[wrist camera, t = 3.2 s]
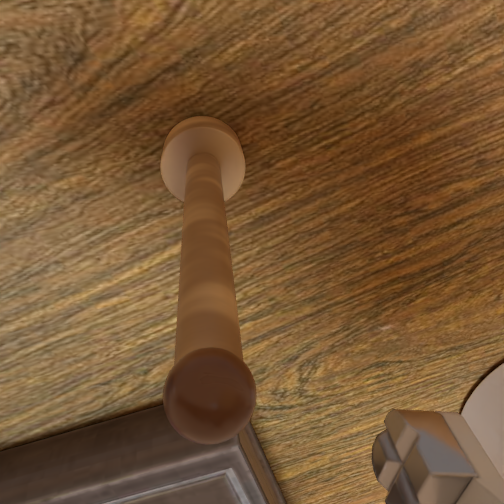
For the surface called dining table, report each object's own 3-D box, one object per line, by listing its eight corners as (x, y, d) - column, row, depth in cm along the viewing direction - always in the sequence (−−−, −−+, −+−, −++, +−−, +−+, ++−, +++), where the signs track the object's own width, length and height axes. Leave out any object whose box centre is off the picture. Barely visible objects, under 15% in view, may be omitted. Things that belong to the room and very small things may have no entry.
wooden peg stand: (249, 123, 23) (335, 365, 9) (234, 197, 25) (285, 498, 11) (167, 108, 23) (112, 346, 8) (158, 185, 25) (101, 492, 10)
